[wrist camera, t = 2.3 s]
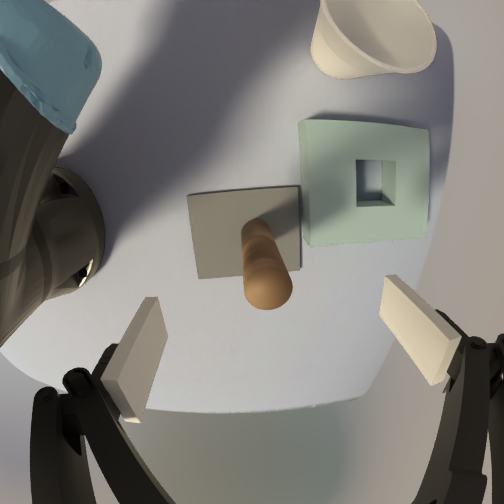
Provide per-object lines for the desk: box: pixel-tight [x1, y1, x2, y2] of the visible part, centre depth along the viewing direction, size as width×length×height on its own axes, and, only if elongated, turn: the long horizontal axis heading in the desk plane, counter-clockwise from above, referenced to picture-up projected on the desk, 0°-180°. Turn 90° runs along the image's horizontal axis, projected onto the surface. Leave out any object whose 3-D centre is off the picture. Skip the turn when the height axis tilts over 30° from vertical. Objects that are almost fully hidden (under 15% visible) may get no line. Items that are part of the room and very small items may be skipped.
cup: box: [310, 0, 437, 80], centre depth 17 cm, size 10×10×11 cm
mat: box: [187, 187, 300, 279], centre depth 28 cm, size 11×9×1 cm
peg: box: [241, 219, 293, 310], centre depth 22 cm, size 3×3×12 cm
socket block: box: [298, 119, 430, 247], centre depth 26 cm, size 14×12×3 cm
